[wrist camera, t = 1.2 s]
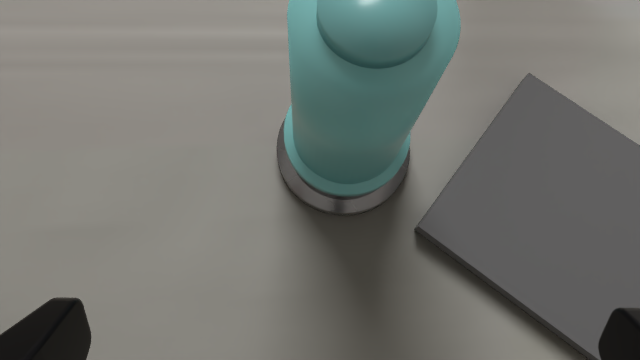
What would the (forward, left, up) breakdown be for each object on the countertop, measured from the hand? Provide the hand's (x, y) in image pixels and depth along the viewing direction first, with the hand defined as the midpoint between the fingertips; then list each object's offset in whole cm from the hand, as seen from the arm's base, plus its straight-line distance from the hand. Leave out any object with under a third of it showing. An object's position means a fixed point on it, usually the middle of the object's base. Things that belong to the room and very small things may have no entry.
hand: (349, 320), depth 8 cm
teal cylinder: (+4, -7, -12) cm, 14 cm away
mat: (-6, -11, -14) cm, 19 cm away
